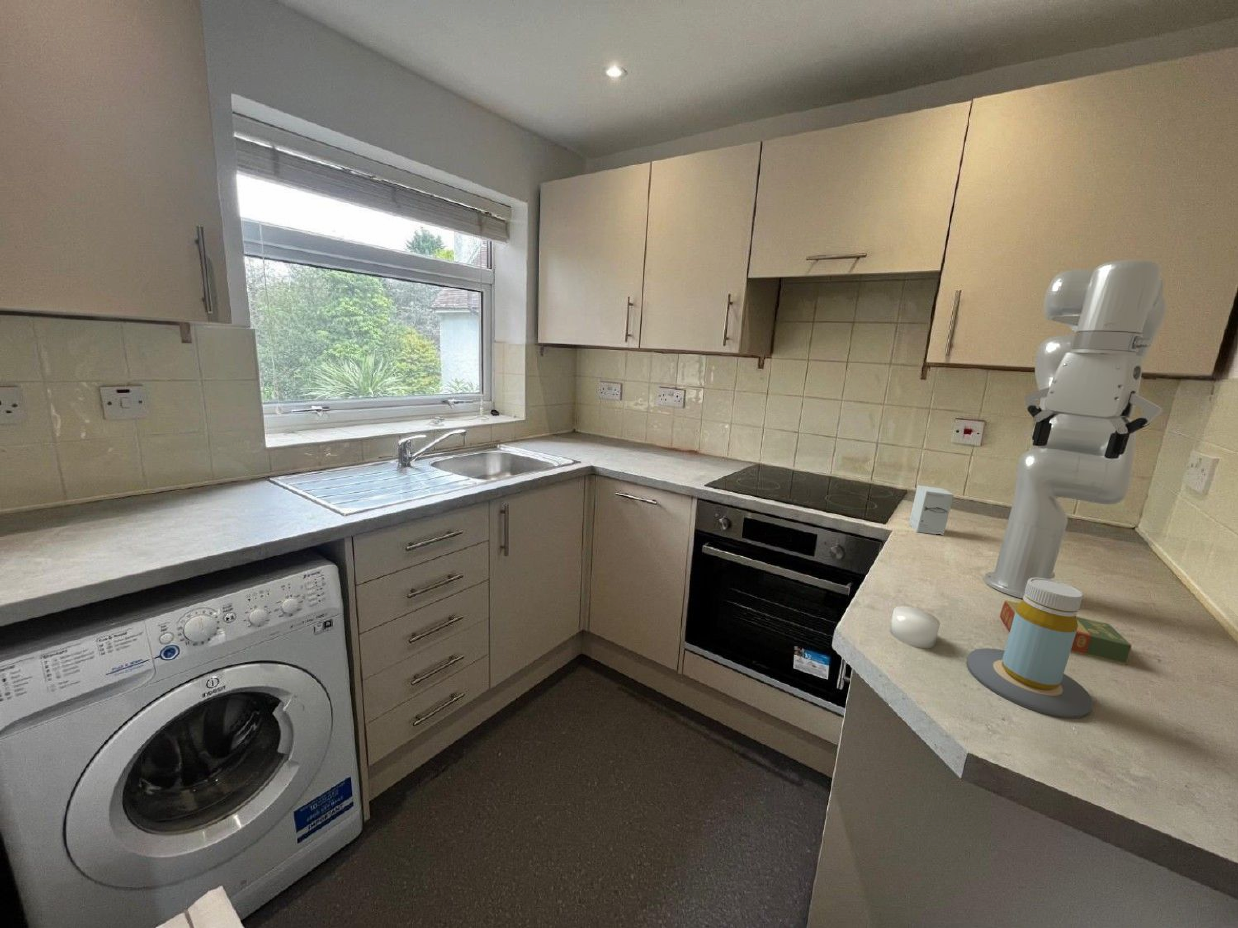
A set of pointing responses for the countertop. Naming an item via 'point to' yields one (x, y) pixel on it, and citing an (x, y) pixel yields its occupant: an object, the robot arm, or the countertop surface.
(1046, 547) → the robot arm
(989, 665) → the disc
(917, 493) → the supplement box
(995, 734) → the countertop surface
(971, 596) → the countertop surface
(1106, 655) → the carton
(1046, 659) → the bottle
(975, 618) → the countertop surface
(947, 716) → the countertop surface
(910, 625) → the white smooth round part
